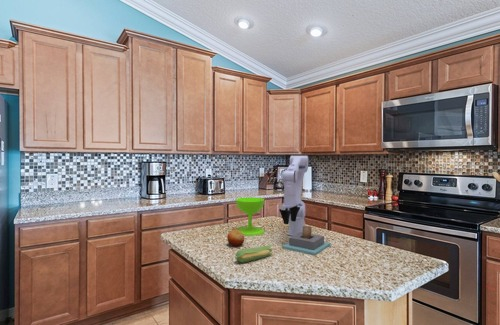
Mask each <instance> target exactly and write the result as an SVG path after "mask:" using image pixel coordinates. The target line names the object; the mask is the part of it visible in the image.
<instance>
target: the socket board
mask: <svg viewBox="0 0 500 325" xmlns="http://www.w3.org/2000/svg"><path fill="white" fill-rule="evenodd" d="M302 234H303V233H302V232H300V233H298V234H296V235H294V236H290V237H289V240H288V242H287V243H285V244H283V245H281V249H284V250H289V251H294V252H298V253H303V254H307V255H312V256H316V255H318V254H320V253H321V252H322V251H324V250H325V249H327V248H328V247H330V246H331V244H332V243H331V242H329V241H325V236H324V235H319V234H313V233H311V239H306V238H302Z"/></svg>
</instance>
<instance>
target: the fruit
mask: <svg viewBox="0 0 500 325" xmlns="http://www.w3.org/2000/svg"><path fill="white" fill-rule="evenodd" d="M226 238H227V242H228V243H227V244H228V245H230V246H233V247H234V248H235V247H239V246H241V245H242V244H244V243H245V235H244V234H243V233H241V231H238V230H237V229H232V230H230V231H229V232H228V234H227V236H226Z"/></svg>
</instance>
